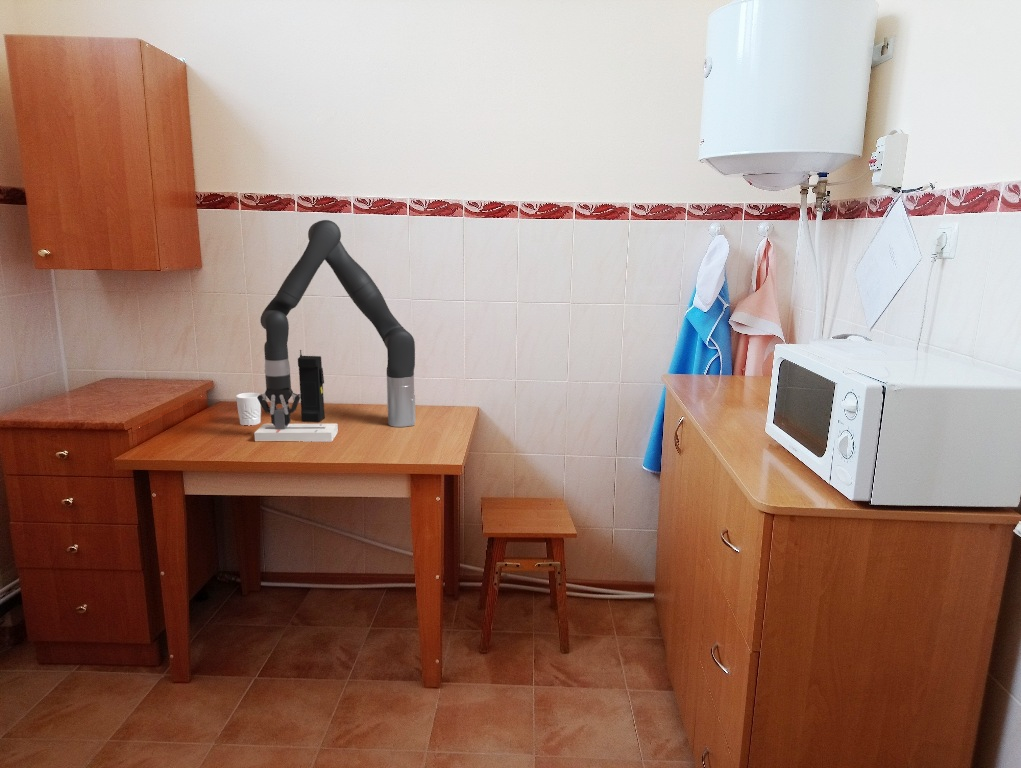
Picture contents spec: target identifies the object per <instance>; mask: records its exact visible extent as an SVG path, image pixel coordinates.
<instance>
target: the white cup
mask: <svg viewBox="0 0 1021 768" xmlns="http://www.w3.org/2000/svg"><path fill="white" fill-rule="evenodd" d="M260 394H261V393H259V392H242V393H238V394H236V395H235V398H236V405H237V407H236V408H237V412H238V419H239V424H240V425H241V426H244V425H248V426H247V427H249V426H250V425H252V426H256V425H259V424H261V421H262V420H261V417H262V416H261V415H262V406H261V404H260V402H259V400H258V399H257V397H258V396H259V395H260Z"/></svg>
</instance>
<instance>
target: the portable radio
mask: <svg viewBox="0 0 1021 768" xmlns="http://www.w3.org/2000/svg"><path fill="white" fill-rule="evenodd" d="M299 351H300V352H299V353H300V354H299V357H297V365H298V366H297V367H298V374H299V376H298V377H299V378H298V379H299V394H300V395H301V398H300V416H301V417H300V418H301V422H302V423H303V422H307V423H319V422H322V421H323V420H324V419H325V417H326V414H325V404H324V403H325V400H324V398H325V397H324V384H325V378H324V377H325V376H324V370H323V369H324V368H323V366H322V356H321V355H303V354H302V351H303V350H301V349H300V350H299Z"/></svg>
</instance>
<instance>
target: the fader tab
mask: <svg viewBox="0 0 1021 768" xmlns="http://www.w3.org/2000/svg"><path fill="white" fill-rule="evenodd" d="M284 415H285V413H284V409H283V407H282V408H281V407H278V408H277V407H276V410H275V411H274V419H275V429H285V428H286V427H287V426H285V418H284Z"/></svg>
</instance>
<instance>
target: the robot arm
mask: <svg viewBox="0 0 1021 768" xmlns="http://www.w3.org/2000/svg"><path fill="white" fill-rule="evenodd" d="M307 237H308V238H307V239H308V241H309V242H308V243H307V245H306V248H305V250H304V252H303V253H302V255H301V257H300V258H299V259H298V261H297V262H296V263H295V265H294V266H293V267H292V269H291V270H290V272H289V273H288V275H287V276H286V278H284V280H283V282H282V284H281V286H280V288H279V289H278V291H277V293H276V295H275V296H274V297H273V298H272V299H271V301H270V302H268V305H266V307H265V308H264V310H263V311H262V313H261V316H260V319H259V320H260V325H261V327H262V328H263V329H265V335H266V336H265V337H266V341H265V342H264V346H263V347H264V350H263V351H264V374H265V377H264V378H265V387H266V388H265V392H264V393H260V395H259V396H258V397H257V399H258V400H259V402H260V404H261V409H262V410H263V412H264V413H266V414H267V413H268V414H270V421H271V423H270V424H273V425H274V426H275V419H274V411H275V410H276V409H277V406H278V405H281V406H282V408H283V409H284V413H285V415H284V418H285V426H288V424H291V413H293V414H294V412H295V411H296V410H297V407H298V405H299V402H300V401H301V395H300V393H299V394H297V393H295V392H294V391H293V390H292V385H291V384H292V382H291V381H292V380H291V367H290V360H289V348H288V341H289V330H290V329H289V325H290V324H289V319H288V314H289V313H290V312H291V311H292V309H294V308H296V307H297V306H298V304H299V303H300V301H301V299H302V298H303V296H305V295H304V294H305V293H306V291H307V290H308V287H309V286H310V284H311V282H312V280H313V278H314V276H315V275H316V273H317V271H318V270H319V269H320V267H321V265H322V264H323V263H324V261H325V262H326V263H327V264H328V265H329V267H330V268H331V269H332V271H333V273H334V274H335V276H336V278H337V279H338V281H339V282H340V285H342V287H343V288H344V290H345V292H346V294H347V295H348V297H349V298H350V299H351V301H352V302H353V303H354V304H355V306H356V307H357V308H358V309H359V311H360V312H361V314H362V315H364V316H365V317H366V319H368V320H369V322H371V324H372V325H373V326H374V328H375V330H376V331H377V333H378V335H379V336H380V338H381V340H382V342H383V344H384V346H385V348H386V350H387V367H386V393H387V395H386V399H387V400H386V401H387V404H386V405H387V424H388V426H391V427H395V428H406V427H410V426H411V427H412V426H415V424H416V394H415V372H414V371H415V365H416V353H415V352H416V343H415V339H414V337H413V335H412V334H411V333H410V332H409V331H408V330H406V328H405V327H403V326H402V324H401V323H400V322H399V321H398V320H397V318H396V317H395V316H394V315H393V314H392V312H391V309H390V308H389V307H388V304H387V302H386V300H385V297H384V296H383V294H382V292H381V290H380V289H379V287H378V286H377V285H376V283H375V281H374V280H373V279H372V277H371V276H370V275H369V274H368V272H367V271H366V270H365V269H364V268H363V267H362V266H361V265H360V264H359V263H358V262H357V261H356V260H355V259H353V257H352V256H351V255H350V254H349V252H348V251H347V249H346V247H344V245H343V243H342V241H341V238H342V232H341V229H340V227H339V226H338V225H337V223H336V222H334V221H332V220H329V219H321V220H318V221H317V222H315V223H313V224H312V225H311V226H309V229H308V232H307ZM291 397H292V398H291ZM267 399H268V400H269V402H270V405H269V404H268V402H267ZM290 399H292V400H293V401H292V404H291V407H290Z"/></svg>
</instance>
